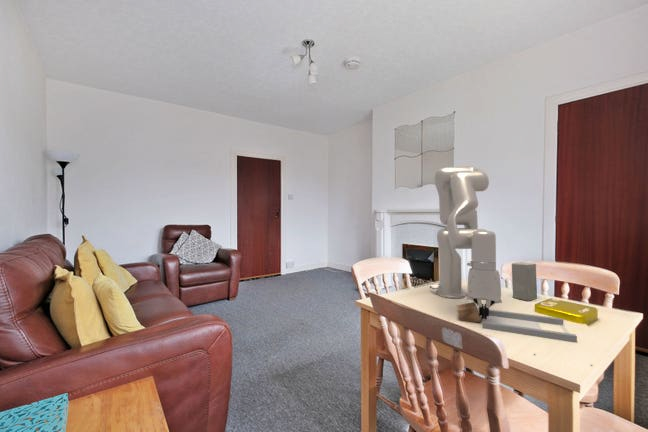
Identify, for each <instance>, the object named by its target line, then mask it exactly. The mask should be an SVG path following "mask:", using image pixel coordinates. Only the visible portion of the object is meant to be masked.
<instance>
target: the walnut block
mask: <svg viewBox="0 0 648 432" xmlns="http://www.w3.org/2000/svg"><path fill="white" fill-rule="evenodd" d="M457 313H458V315H459V318H460V320H461V322H465V323H474V324H475V323H479V322H480V323H482V318H481V315H479V308H478V307H477V304H476V303H475V302H474V301H471V302H468V303H463V304H458V305H457Z"/></svg>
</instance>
